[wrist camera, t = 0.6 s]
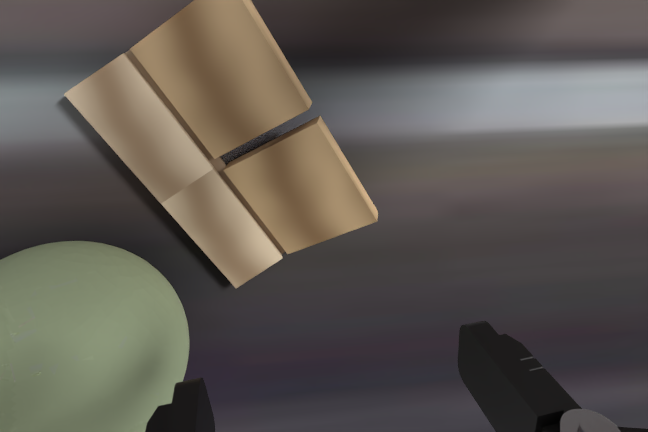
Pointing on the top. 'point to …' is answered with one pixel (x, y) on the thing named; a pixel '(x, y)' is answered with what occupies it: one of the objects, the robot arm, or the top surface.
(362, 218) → the plank far
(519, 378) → the robot arm
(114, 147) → the laid strip
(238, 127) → the plank near
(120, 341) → the toy
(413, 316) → the top surface
